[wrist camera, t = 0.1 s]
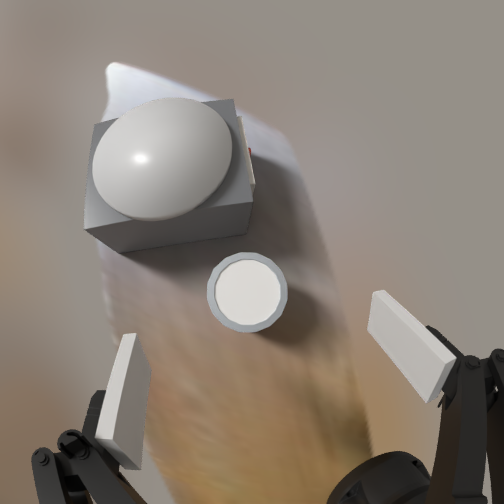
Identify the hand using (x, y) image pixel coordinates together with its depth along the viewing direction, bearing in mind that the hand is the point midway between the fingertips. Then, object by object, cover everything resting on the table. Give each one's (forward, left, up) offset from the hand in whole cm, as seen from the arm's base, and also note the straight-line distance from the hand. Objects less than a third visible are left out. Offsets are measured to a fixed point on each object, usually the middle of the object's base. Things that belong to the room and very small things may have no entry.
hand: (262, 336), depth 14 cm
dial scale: (+16, +6, -15) cm, 23 cm away
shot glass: (+3, 0, -16) cm, 16 cm away
